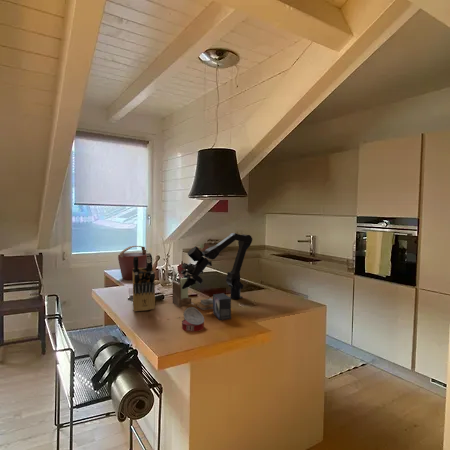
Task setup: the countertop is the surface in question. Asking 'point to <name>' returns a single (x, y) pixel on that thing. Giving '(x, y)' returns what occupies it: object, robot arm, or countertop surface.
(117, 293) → the countertop surface
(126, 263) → the bucket
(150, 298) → the knife block
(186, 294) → the green board
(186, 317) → the canned food
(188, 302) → the walnut rack
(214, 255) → the robot arm
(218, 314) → the small box
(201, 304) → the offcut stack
